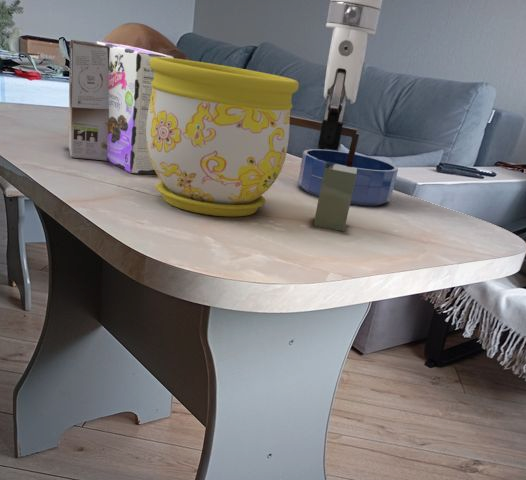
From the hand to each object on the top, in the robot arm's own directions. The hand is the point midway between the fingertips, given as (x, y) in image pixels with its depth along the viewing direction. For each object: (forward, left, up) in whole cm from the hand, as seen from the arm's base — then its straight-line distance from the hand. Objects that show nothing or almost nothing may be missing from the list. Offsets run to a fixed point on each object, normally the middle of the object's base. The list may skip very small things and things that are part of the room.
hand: (328, 146), depth 100 cm
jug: (+32, -12, -7) cm, 35 cm away
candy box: (+30, +10, -7) cm, 32 cm away
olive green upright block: (-3, +24, -7) cm, 25 cm away
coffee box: (+37, +8, -7) cm, 38 cm away
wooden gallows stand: (+1, 0, -5) cm, 5 cm away
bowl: (-4, +2, -7) cm, 8 cm away
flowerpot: (+13, +25, -7) cm, 29 cm away
